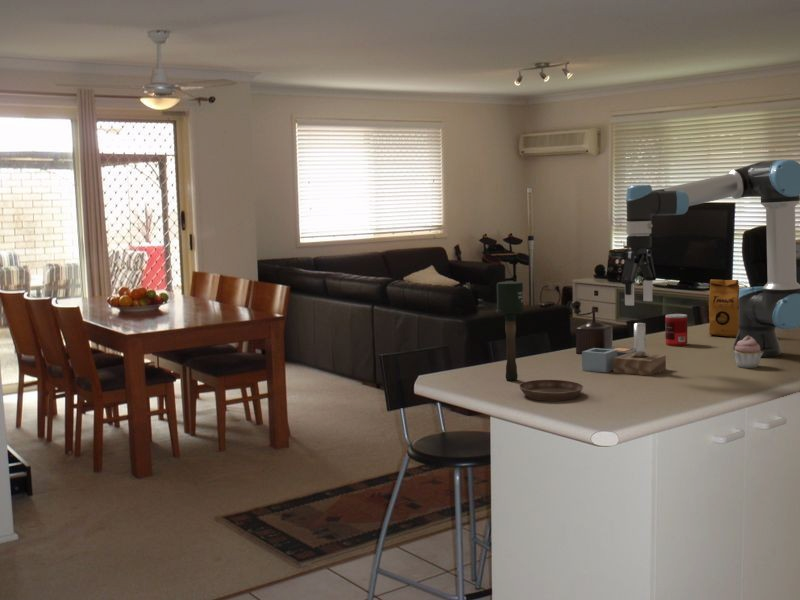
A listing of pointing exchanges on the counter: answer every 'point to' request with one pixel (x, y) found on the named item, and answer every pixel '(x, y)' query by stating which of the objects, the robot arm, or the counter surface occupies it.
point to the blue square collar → (598, 359)
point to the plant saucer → (551, 389)
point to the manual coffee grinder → (591, 332)
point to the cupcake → (747, 353)
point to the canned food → (676, 329)
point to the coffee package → (724, 308)
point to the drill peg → (639, 340)
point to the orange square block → (622, 349)
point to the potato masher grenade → (510, 319)
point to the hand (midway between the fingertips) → (638, 303)
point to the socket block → (640, 364)
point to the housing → (622, 351)
